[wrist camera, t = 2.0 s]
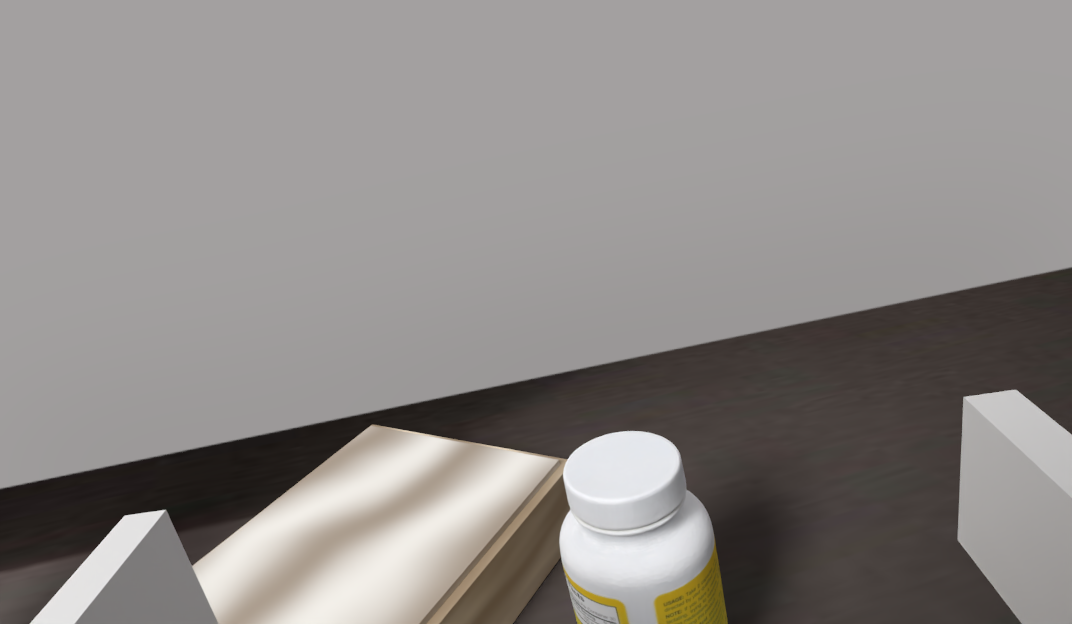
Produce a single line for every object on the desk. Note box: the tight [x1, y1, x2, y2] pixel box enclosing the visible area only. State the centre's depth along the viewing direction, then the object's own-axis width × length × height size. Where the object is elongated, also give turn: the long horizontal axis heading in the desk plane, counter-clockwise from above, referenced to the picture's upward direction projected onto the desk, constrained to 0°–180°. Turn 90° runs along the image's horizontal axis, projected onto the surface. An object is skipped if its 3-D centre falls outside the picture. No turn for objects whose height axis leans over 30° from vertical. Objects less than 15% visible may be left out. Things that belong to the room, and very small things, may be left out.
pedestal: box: [192, 425, 570, 624], centre depth 34 cm, size 14×16×4 cm
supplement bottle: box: [559, 431, 728, 624], centre depth 26 cm, size 5×5×10 cm
